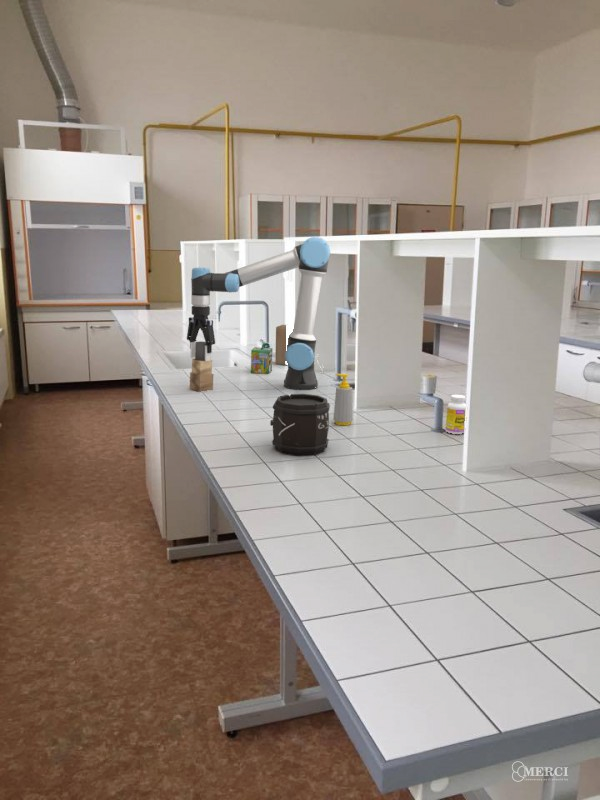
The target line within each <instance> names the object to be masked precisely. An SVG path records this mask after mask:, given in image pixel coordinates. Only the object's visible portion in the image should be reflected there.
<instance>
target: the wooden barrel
mask: <svg viewBox="0 0 600 800" xmlns="http://www.w3.org/2000/svg"><path fill="white" fill-rule="evenodd" d="M330 408H331V405H330V403H329V402H328V399H327V398H326V397H323V396H320V395H318V394H309V393H291V394H290V395H289V394H283V395H280V396H278V397H277V398H276V400H275V402H274V403H273V404H272V409H273V417H272V419H270V422H269V424H270V426H272V438H273V439H272V440H271V443H272V445H273V446H274V449H275V450H276V451H277V452H279V453H280V454H283V455H288V456H294V457H312V456H313V457H314V456H316V455H320V454H322V453H325V449H326V448H328V444H329V440H330V439H329V438H328V434H329V423H330V414H329V411H330Z"/></svg>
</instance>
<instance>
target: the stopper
mask: <svg viewBox="0 0 600 800" xmlns="http://www.w3.org/2000/svg"><path fill="white" fill-rule="evenodd" d="M195 342H196V348H195V357H194V358H195V360H198V361H205V344H206V342H205V341H195Z"/></svg>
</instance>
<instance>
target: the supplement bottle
mask: <svg viewBox="0 0 600 800" xmlns="http://www.w3.org/2000/svg"><path fill="white" fill-rule="evenodd" d="M465 401H466V396H465V395H464V394H463V395H462V394H452V395H450V402H449V403H448V404H447V408H446V418H445V420H446V421H445V432H446V433H447V432H448V433H447V434H450V433H452V434H451V435H455V434H460V435H463V434H462V433H463V432H464V421H465V408H466V405H467V404H466V403H465Z"/></svg>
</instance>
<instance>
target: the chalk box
mask: <svg viewBox="0 0 600 800" xmlns="http://www.w3.org/2000/svg"><path fill="white" fill-rule="evenodd" d="M265 343H266V342H265V341H264V342H263V343H262V345H261V347H259V346H258V347H254V348H252V349H251V353H250V356H251V361H250V363H251V364H250V373H251V374H260V375H270V373H271V372H272V371H273V348H271V347H265V345H266V344H265Z"/></svg>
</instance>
